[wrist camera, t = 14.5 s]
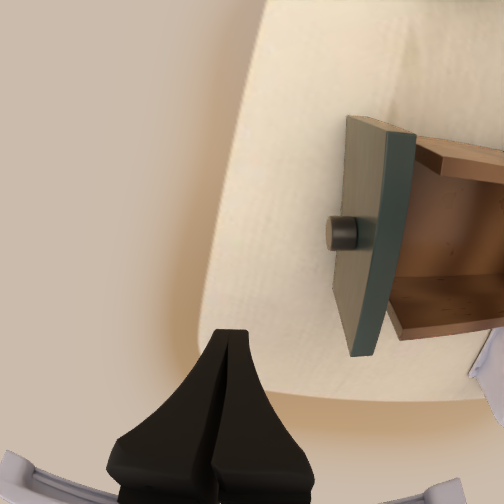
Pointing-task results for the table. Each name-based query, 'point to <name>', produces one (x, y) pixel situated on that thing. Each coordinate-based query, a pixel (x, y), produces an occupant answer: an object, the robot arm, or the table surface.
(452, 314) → the drawer
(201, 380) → the robot arm
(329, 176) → the table surface
